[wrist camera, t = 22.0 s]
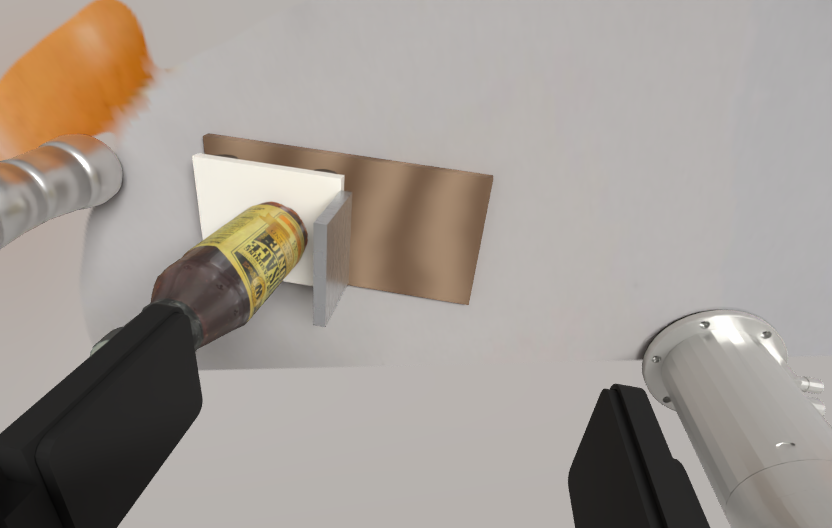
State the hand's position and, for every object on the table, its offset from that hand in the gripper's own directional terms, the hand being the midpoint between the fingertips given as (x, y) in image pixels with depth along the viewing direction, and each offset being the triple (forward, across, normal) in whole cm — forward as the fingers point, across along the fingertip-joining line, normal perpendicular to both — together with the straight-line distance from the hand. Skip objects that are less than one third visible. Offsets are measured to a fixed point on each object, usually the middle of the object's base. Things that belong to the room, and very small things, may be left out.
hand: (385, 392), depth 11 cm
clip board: (+32, +10, +11) cm, 35 cm away
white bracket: (+31, +16, +11) cm, 37 cm away
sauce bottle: (+29, +15, +11) cm, 34 cm away
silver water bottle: (+32, +34, +9) cm, 48 cm away
